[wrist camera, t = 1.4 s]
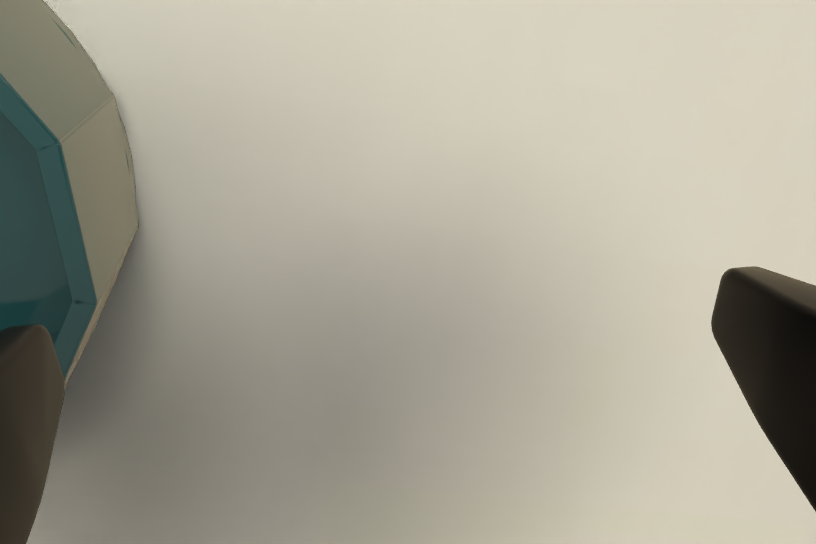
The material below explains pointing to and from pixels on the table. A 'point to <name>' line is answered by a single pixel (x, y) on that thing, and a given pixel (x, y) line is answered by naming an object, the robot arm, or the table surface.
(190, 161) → the table surface
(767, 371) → the robot arm
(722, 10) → the table surface
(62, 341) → the pot
